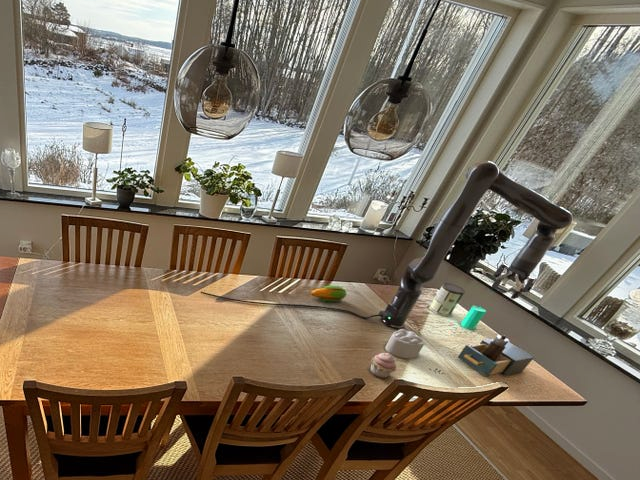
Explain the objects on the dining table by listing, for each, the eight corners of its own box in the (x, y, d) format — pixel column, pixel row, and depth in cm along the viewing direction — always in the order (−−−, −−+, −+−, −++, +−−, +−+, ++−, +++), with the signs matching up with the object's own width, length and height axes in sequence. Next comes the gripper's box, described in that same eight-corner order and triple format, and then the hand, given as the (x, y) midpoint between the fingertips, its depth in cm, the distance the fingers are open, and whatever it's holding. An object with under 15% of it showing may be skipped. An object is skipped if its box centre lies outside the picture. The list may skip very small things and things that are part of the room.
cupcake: (364, 362, 163) (375, 343, 157) (388, 369, 161) (399, 349, 155) (367, 376, 155) (378, 356, 149) (392, 383, 153) (405, 363, 148)
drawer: (479, 378, 162) (489, 365, 159) (451, 358, 172) (459, 345, 169) (503, 373, 168) (513, 361, 164) (475, 354, 178) (483, 342, 174)
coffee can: (440, 306, 216) (454, 283, 208) (454, 316, 208) (470, 293, 200) (424, 305, 214) (438, 282, 206) (438, 316, 206) (453, 292, 198)
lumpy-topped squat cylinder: (420, 357, 171) (430, 341, 166) (395, 358, 168) (405, 342, 163) (403, 343, 179) (412, 327, 174) (379, 344, 176) (388, 328, 171)
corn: (352, 290, 200) (317, 289, 196) (347, 303, 204) (312, 303, 200) (344, 284, 207) (309, 283, 202) (339, 297, 210) (305, 296, 206)
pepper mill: (486, 367, 168) (507, 340, 160) (474, 359, 172) (494, 332, 164) (494, 365, 170) (515, 338, 161) (482, 358, 173) (502, 331, 165)
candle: (476, 330, 198) (490, 310, 191) (463, 328, 198) (477, 307, 192) (470, 324, 203) (484, 304, 196) (458, 321, 203) (471, 301, 197)
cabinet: (503, 376, 167) (515, 360, 163) (471, 355, 178) (482, 340, 174) (521, 372, 171) (534, 357, 167) (489, 352, 182) (500, 337, 178)
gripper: (505, 250, 163) (481, 285, 172) (539, 266, 152) (512, 302, 161) (517, 250, 165) (494, 284, 174) (552, 266, 154) (525, 301, 163)
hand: (503, 293), depth 168 cm, fingers open, 8 cm apart
